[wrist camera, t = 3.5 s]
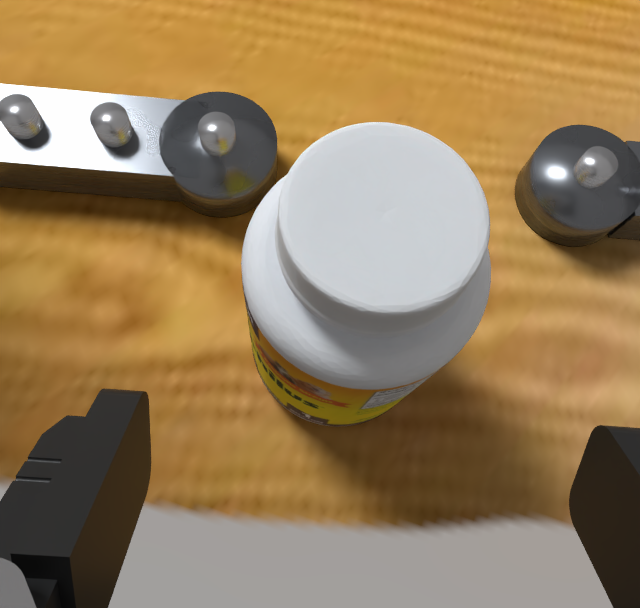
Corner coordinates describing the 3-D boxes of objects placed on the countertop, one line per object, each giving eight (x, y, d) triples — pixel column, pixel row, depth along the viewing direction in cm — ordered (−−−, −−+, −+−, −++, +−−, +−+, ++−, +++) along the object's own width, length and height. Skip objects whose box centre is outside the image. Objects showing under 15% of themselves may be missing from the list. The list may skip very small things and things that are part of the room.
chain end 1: (-26, 197, 22) (-64, 157, 19) (0, 101, 23) (-33, 53, 20) (272, 221, 22) (271, 186, 20) (280, 127, 23) (281, 82, 21)
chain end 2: (517, 241, 23) (546, 209, 20) (512, 147, 24) (539, 106, 21) (714, 258, 23) (767, 228, 20) (699, 164, 24) (747, 125, 22)
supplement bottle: (226, 309, 21) (184, 140, 11) (369, 248, 22) (442, 46, 12) (296, 460, 20) (316, 415, 10) (445, 387, 21) (594, 281, 11)
